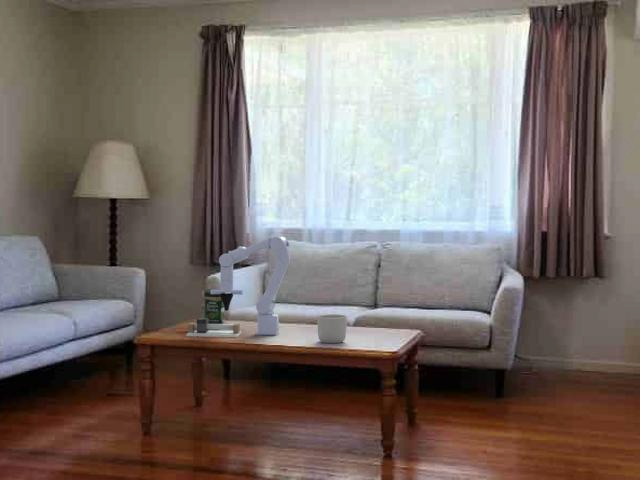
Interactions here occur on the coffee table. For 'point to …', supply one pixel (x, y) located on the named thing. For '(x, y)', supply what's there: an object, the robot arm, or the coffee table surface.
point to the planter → (332, 328)
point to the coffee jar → (214, 307)
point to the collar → (202, 324)
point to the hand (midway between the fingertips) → (226, 310)
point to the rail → (214, 333)
